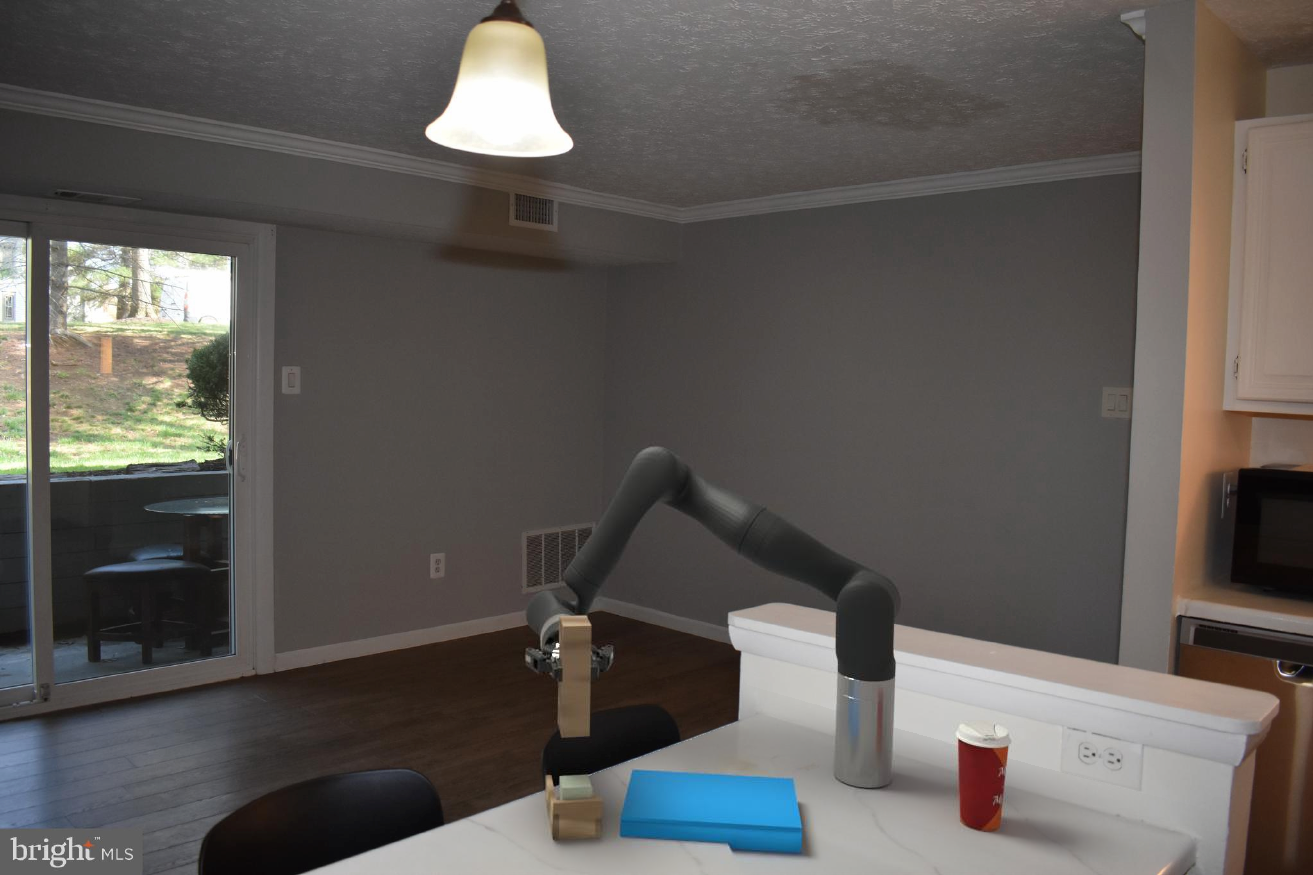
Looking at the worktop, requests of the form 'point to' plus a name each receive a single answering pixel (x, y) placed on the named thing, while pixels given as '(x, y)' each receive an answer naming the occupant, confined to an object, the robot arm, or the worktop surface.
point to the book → (713, 809)
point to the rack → (573, 815)
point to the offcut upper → (574, 787)
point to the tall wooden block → (574, 676)
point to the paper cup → (981, 773)
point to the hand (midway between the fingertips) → (576, 674)
